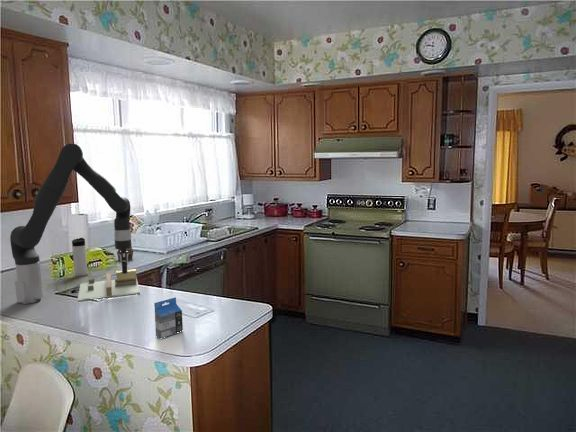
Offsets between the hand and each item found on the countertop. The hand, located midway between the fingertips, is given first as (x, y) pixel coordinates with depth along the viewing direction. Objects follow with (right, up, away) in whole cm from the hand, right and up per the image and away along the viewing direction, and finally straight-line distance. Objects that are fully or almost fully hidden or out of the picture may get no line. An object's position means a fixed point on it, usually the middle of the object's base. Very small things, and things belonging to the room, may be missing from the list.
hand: (124, 271), depth 215 cm
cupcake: (-19, 0, +53) cm, 56 cm away
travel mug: (-30, -5, +18) cm, 35 cm away
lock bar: (0, -6, +2) cm, 6 cm away
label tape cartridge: (+37, -16, -58) cm, 70 cm away
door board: (-5, -8, -6) cm, 11 cm away
